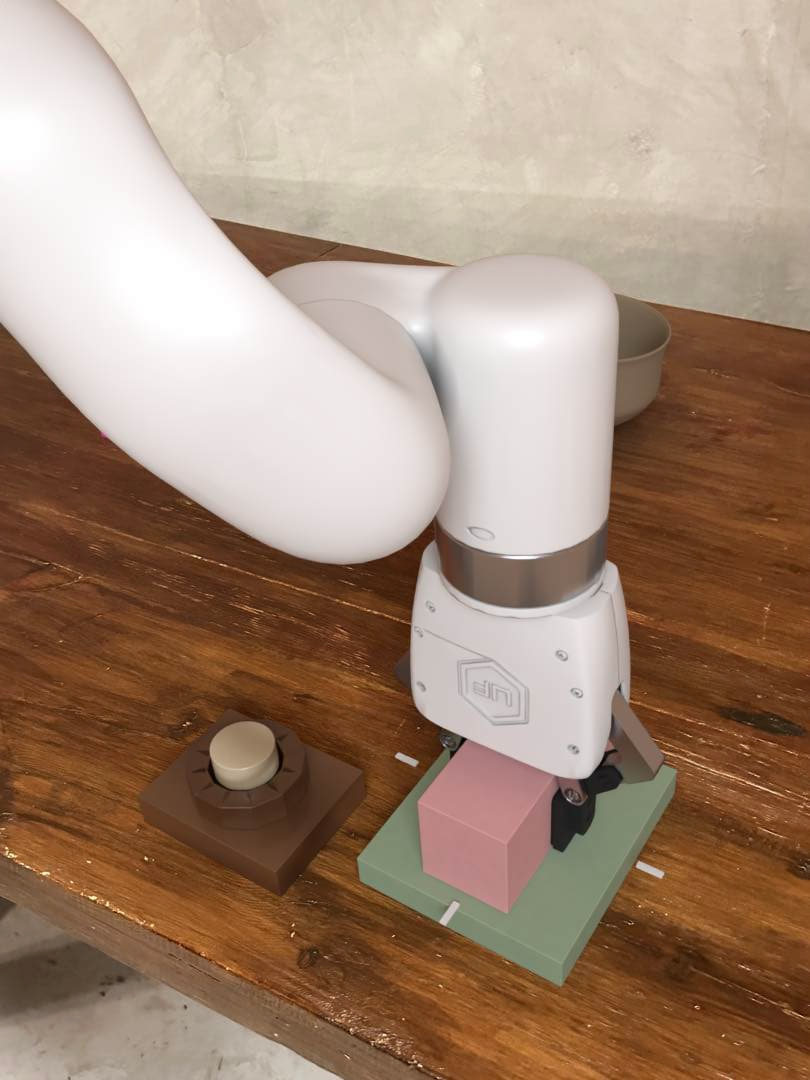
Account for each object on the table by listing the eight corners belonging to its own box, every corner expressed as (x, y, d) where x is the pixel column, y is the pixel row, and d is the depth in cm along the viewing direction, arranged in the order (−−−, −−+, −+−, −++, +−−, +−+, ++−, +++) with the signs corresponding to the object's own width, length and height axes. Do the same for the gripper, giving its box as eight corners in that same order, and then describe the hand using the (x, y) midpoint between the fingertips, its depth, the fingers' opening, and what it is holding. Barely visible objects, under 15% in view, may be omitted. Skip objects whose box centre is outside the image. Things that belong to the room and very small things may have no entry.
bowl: (661, 469, 90) (671, 357, 84) (503, 460, 92) (502, 350, 86) (664, 392, 100) (673, 286, 94) (521, 385, 102) (521, 282, 96)
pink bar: (507, 915, 56) (506, 840, 52) (422, 871, 58) (416, 797, 55) (611, 757, 63) (616, 683, 60) (533, 724, 66) (533, 651, 62)
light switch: (280, 898, 60) (270, 850, 57) (144, 821, 64) (129, 774, 62) (367, 796, 65) (361, 748, 62) (234, 732, 70) (224, 686, 67)
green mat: (590, 1027, 53) (592, 1001, 51) (315, 879, 60) (311, 854, 59) (717, 795, 63) (721, 768, 62) (469, 694, 71) (469, 669, 70)
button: (251, 801, 60) (246, 779, 59) (200, 775, 62) (195, 753, 61) (292, 757, 63) (288, 735, 62) (242, 733, 64) (238, 712, 63)
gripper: (316, 528, 51) (352, 794, 62) (670, 653, 43) (640, 933, 54) (406, 450, 56) (425, 709, 67) (739, 550, 48) (699, 826, 59)
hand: (521, 807), depth 60 cm, fingers closed on pink bar, 5 cm apart
